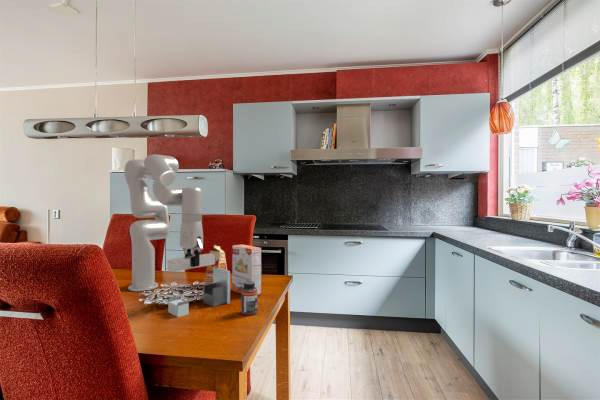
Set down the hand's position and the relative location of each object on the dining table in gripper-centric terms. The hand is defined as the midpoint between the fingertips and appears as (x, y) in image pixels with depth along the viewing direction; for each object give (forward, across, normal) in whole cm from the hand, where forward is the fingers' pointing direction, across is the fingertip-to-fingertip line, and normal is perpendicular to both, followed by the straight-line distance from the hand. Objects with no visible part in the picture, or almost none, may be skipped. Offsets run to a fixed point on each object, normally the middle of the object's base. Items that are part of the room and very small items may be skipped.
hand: (192, 265), depth 122 cm
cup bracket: (+16, +3, +8) cm, 18 cm away
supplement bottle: (+16, +22, +10) cm, 30 cm away
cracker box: (+16, +2, +25) cm, 30 cm away
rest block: (+16, +3, -8) cm, 18 cm away
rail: (+1, 0, 0) cm, 1 cm away
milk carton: (+16, -18, +23) cm, 33 cm away
